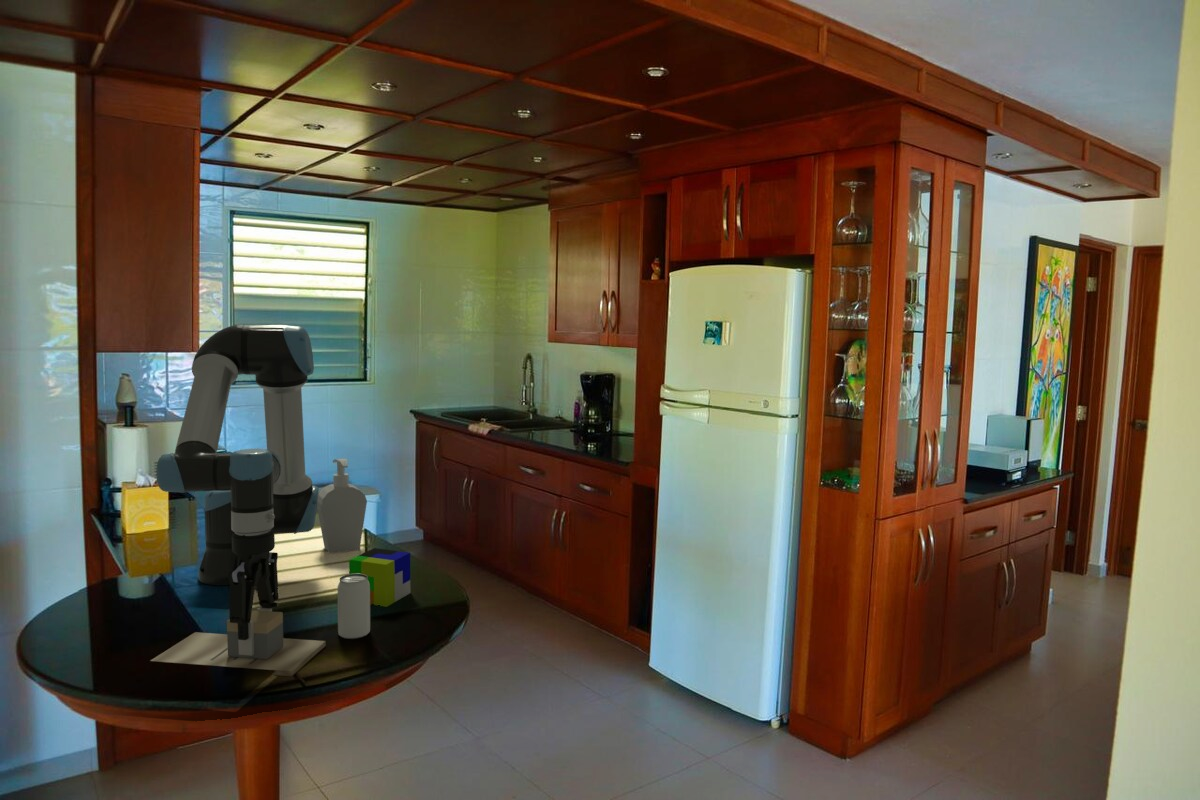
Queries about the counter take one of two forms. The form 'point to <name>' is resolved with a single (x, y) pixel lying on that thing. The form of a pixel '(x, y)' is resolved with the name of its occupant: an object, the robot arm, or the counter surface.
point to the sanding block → (259, 635)
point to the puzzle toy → (384, 574)
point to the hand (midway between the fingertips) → (256, 647)
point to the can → (353, 606)
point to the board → (215, 653)
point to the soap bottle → (341, 512)
